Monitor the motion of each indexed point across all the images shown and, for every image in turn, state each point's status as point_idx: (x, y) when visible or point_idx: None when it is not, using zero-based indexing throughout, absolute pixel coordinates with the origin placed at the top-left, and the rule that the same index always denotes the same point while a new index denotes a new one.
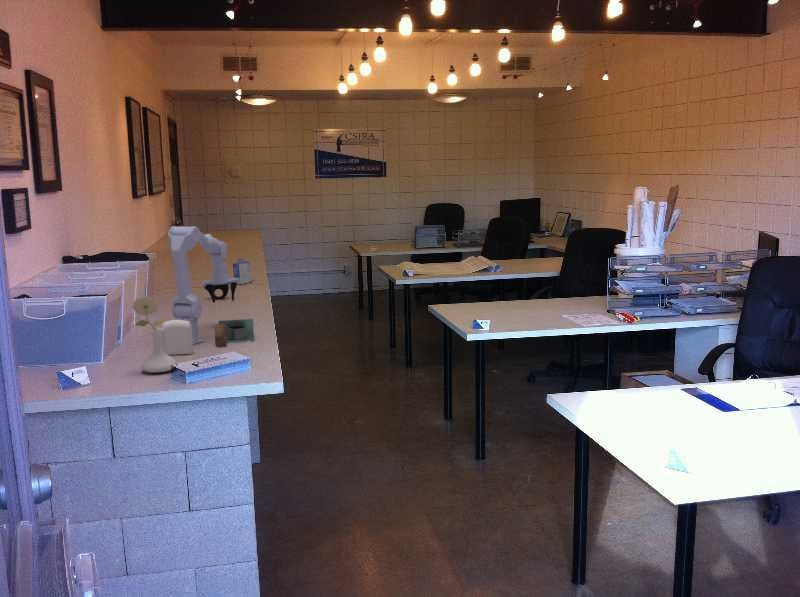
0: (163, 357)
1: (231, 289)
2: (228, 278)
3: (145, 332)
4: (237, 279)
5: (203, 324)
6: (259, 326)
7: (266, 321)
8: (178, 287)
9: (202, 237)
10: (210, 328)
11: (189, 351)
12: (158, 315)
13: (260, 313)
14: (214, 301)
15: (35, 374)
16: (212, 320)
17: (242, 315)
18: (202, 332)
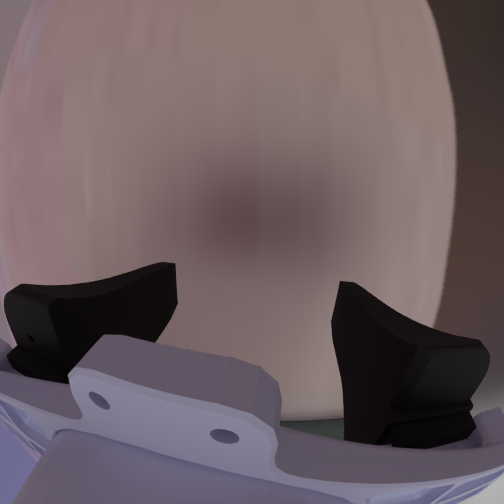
0: None
1: (350, 435)
2: (393, 482)
3: (10, 258)
4: (463, 497)
5: (155, 155)
6: (413, 281)
7: (449, 180)
8: None
9: None
10: (191, 260)
11: None
12: (46, 9)
13: (411, 12)
14: (172, 312)
15: (32, 454)
16: (198, 69)
17: (342, 10)
18: (166, 330)
